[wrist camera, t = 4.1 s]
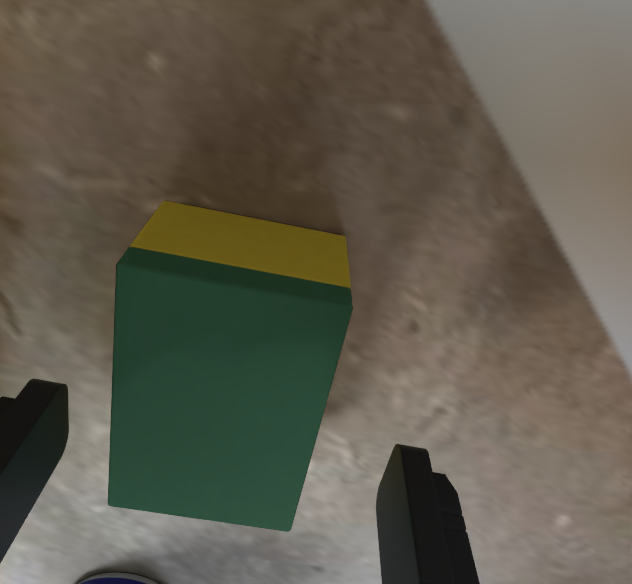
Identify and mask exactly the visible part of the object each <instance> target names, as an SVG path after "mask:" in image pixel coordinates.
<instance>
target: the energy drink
mask: <svg viewBox="0 0 632 584" xmlns="http://www.w3.org/2000/svg"><path fill="white" fill-rule="evenodd" d="M78 584H158V583H156V582H155V581H153V580H150V579H148V578H145V577H142V576H138V575H134V574H128V573H103V574H98V575H94V576H91V577H89V578H87V579H85V580H83V581H82V582H80V583H78Z"/></svg>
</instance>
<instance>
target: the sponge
mask: <svg viewBox="0 0 632 584" xmlns="http://www.w3.org/2000/svg"><path fill="white" fill-rule="evenodd" d="M352 310H353V306H352V296H351V284H350V274H349V264H348V255H347V245H346V237H345V236H342V235H337V234H332V233H327V232H322V231H317V230H312V229H307V228H301V227H296V226H291V225H286V224H281V223H276V222H271V221H266V220H261V219H256V218H251V217H246V216H241V215H235V214H230V213H225V212H220V211H215V210H210V209H205V208H200V207H195V206H190V205H185V204H180V203H175V202H169V201H163V202H162V203H161V205H160V206H159V207H158V209H157V210H156V211H155V213H154V214H153V215H152V217H151V218H150V220H149V221H148V222H147V224H146V225H145V226H144V228H143V229H142V230H141V232H140V233H139V234H138V236H137V237H136V238H135V240H134V241H133V242H132V244H131V245H130V247H129V248H128V249H127V251H126V252H125V253H124V255H123V256H122V257H121V259H120V260H119V262H118V263H117V265H116V287H115V315H114V344H113V372H112V401H111V429H110V458H109V487H108V505H109V506H114V507H121V508H128V509H135V510H142V511H149V512H155V513H162V514H169V515H176V516H183V517H190V518H197V519H204V520H211V521H218V522H225V523H232V524H239V525H246V526H252V527H259V528H266V529H273V530H280V531H287V532H288V531H290V530H291V527H292V524H293V520H294V516H295V513H296V509H297V506H298V502H299V499H300V495H301V491H302V488H303V484H304V481H305V477H306V474H307V470H308V467H309V463H310V459H311V456H312V452H313V449H314V445H315V442H316V438H317V434H318V431H319V427H320V424H321V420H322V417H323V413H324V410H325V406H326V402H327V399H328V395H329V392H330V388H331V385H332V381H333V377H334V374H335V370H336V367H337V363H338V360H339V356H340V353H341V349H342V345H343V342H344V338H345V335H346V331H347V328H348V324H349V320H350V317H351V313H352Z"/></svg>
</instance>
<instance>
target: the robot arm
mask: <svg viewBox="0 0 632 584" xmlns="http://www.w3.org/2000/svg"><path fill="white" fill-rule="evenodd" d="M68 433H69V418H68V388H67V385H66V384H61V383H56V382H50V381H44V380H39V379H31V380H30V381H29V382H28V383H27V384H26V386H25V387H24V388H23V389H22V391H21V392H20V393H19V395H18V396H17V397H16V399H14V398H9V397H1V398H0V563H1V561H2V559H3V558H4V556H5V554H6V552H7V551H8V549H9V547H10V546H11V544H12V542H13V540H14V539H15V537H16V535H17V533H18V532H19V530H20V528H21V526H22V525H23V523H24V521H25V519H26V518H27V516H28V514H29V513H30V511H31V509H32V507H33V506H34V504H35V502H36V500H37V499H38V497H39V495H40V493H41V492H42V490H43V488H44V486H45V485H46V483H47V481H48V479H49V478H50V476H51V474H52V473H53V471H54V469H55V467H56V466H57V464H58V462H59V460H60V459H61V457H62V455H63V452H64V450H65V447H66V443H67V439H68ZM376 515H377V527H378V539H379V552H380V564H381V576H382V584H480V583H479V579H478V575H477V571H476V567H475V563H474V559H473V555H472V551H471V547H470V543H469V539H468V535H467V533H466V526H465V522H464V518H463V516H462V510H461V506H460V502H459V498H458V494H457V492H456V490H455V489H454V487H453V486H452V484H451V483H450V481H449V480H448V478H447V477H446V475H445V474H440V473H434V472H432V468H431V463H430V458H429V453H428V451H427V450H426V449H423V448H417V447H412V446H406V445H400V444H396V445H395V447H394V449H393V451H392V454H391V456H390V459H389V461H388V464H387V467H386V469H385V472H384V474H383V477H382V480H381V482H380V485H379V488H378V493H377V501H376Z"/></svg>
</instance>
